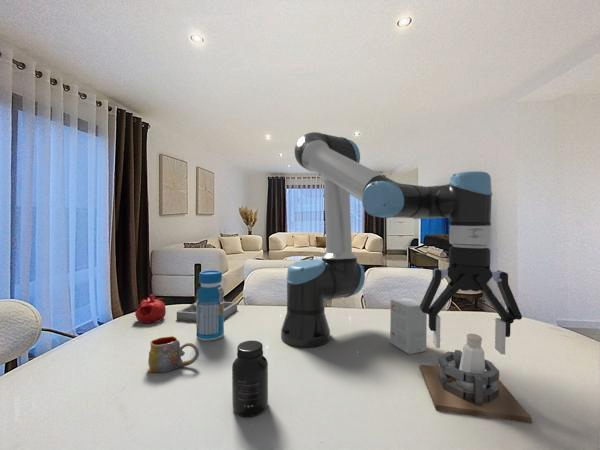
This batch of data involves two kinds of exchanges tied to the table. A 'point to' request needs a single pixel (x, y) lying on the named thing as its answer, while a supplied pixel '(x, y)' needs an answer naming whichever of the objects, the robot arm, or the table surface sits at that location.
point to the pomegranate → (150, 310)
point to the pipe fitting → (193, 308)
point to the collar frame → (468, 379)
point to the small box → (408, 326)
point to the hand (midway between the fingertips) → (467, 348)
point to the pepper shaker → (472, 359)
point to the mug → (168, 355)
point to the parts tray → (192, 316)
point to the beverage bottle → (210, 306)
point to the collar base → (448, 402)
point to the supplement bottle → (249, 380)
